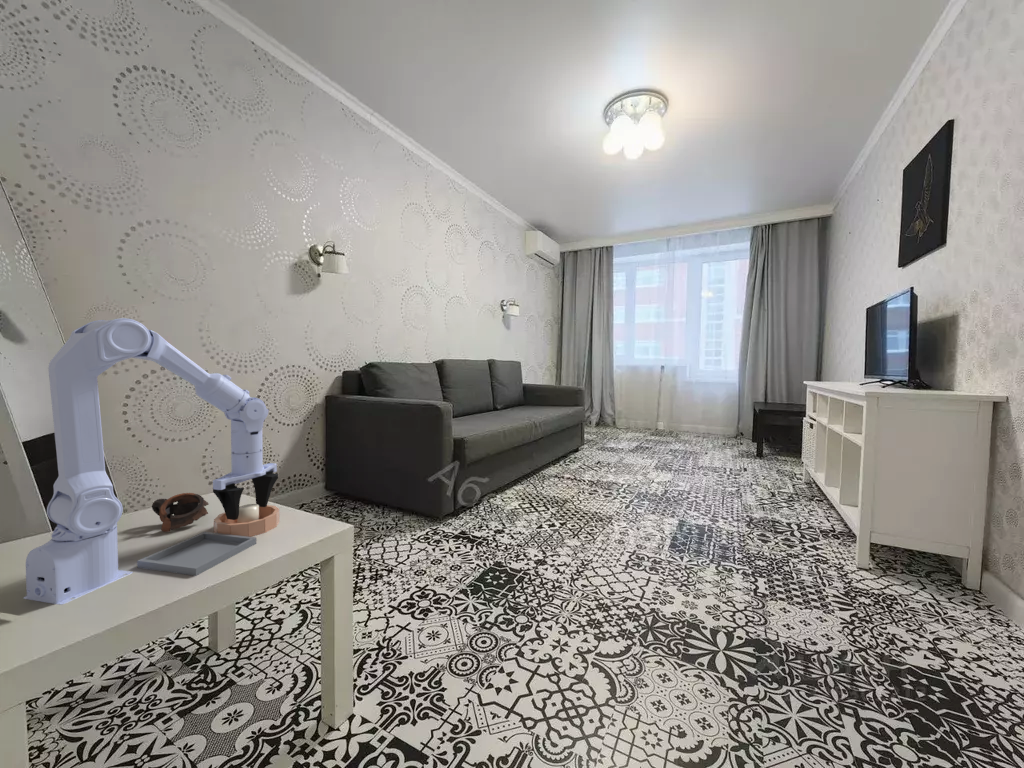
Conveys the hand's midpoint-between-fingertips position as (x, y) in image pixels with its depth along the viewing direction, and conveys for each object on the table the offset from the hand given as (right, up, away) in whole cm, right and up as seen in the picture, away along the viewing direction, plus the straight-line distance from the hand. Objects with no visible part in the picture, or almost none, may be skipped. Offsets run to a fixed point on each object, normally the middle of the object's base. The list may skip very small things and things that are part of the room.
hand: (247, 512), depth 86 cm
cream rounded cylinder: (0, -3, 0) cm, 3 cm away
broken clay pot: (-17, -4, +2) cm, 17 cm away
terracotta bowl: (0, -4, 0) cm, 4 cm away
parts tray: (0, -4, -12) cm, 13 cm away
